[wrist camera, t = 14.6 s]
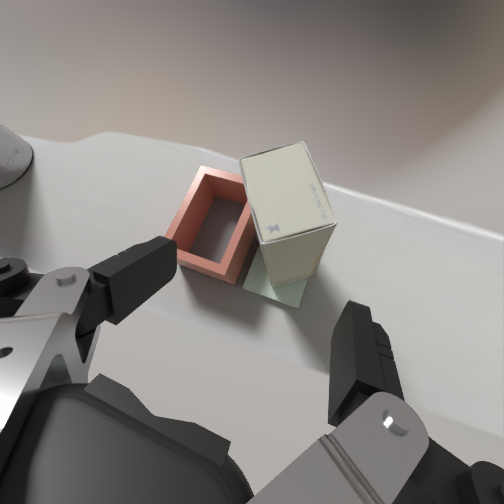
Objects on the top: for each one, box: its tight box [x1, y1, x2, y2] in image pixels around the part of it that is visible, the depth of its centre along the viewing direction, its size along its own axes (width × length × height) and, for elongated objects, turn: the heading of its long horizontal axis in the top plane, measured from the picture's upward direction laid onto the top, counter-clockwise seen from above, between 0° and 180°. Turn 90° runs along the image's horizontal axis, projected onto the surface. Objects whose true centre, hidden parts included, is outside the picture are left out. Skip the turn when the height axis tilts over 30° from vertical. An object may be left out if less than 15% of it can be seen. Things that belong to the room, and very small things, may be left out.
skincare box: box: [239, 141, 337, 287], centre depth 19 cm, size 6×4×12 cm
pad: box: [242, 244, 308, 309], centre depth 25 cm, size 6×10×1 cm, turn 159°
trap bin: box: [164, 165, 256, 285], centre depth 24 cm, size 7×10×5 cm
